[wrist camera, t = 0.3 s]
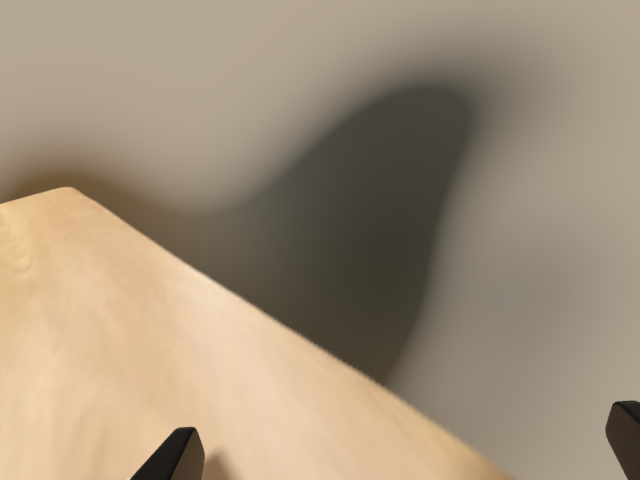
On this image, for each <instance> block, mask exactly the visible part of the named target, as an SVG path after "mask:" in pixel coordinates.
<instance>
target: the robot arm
mask: <svg viewBox="0 0 640 480" xmlns="http://www.w3.org/2000/svg"><path fill="white" fill-rule="evenodd" d="M605 429H606V436H607V439H608V441H609V443H610V445H611V447H612V449H613V451H614V453H615V455H616V457H617V459H618V461H619V463H620V465H621V467H622V469H623V471H624V473H625V475H626V477H627V479H628V480H640V402H637V401H618V402H615V403H614V404H613V405H612V408H611V411H610V414H609V417H608V421H607V424H606V428H605ZM204 460H205V453H204V448H203V446H202V443H201V440H200V437H199V434H198V431H197V429H196V428H195V427H180V428H177V429H176V430H174V431H173V432H172V433H171V434H170V436H169V437H168V438H167V439H166V440H165V441H164V442H163V443H162V444H161V445H160V447H159V448H158V449H157V450H156V451H155V452H154V453H153V454H152V455H151V456H150V458H149V459H148V460H147V461H146V462H145V463H144V464H143V465H142V466H141V467H140V469H139V470H138V471H137V472H136V473H135V474H134V475H133V476H132V477H131V478H130V480H201V478H202V473H203V467H204Z"/></svg>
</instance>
